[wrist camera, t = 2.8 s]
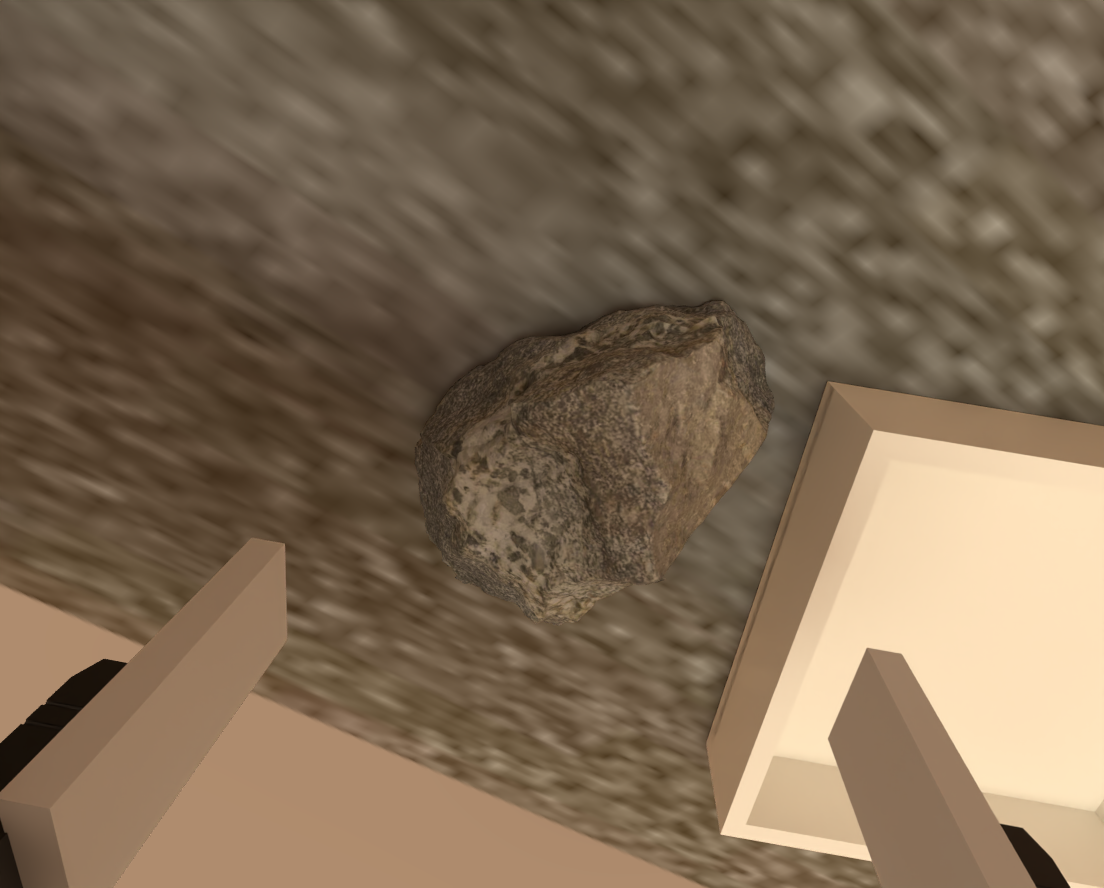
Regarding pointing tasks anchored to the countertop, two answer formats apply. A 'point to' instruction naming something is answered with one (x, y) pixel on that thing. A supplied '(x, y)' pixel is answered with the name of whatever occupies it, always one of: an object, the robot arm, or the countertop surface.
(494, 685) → the countertop surface
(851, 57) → the countertop surface
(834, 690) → the dish
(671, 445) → the rock
